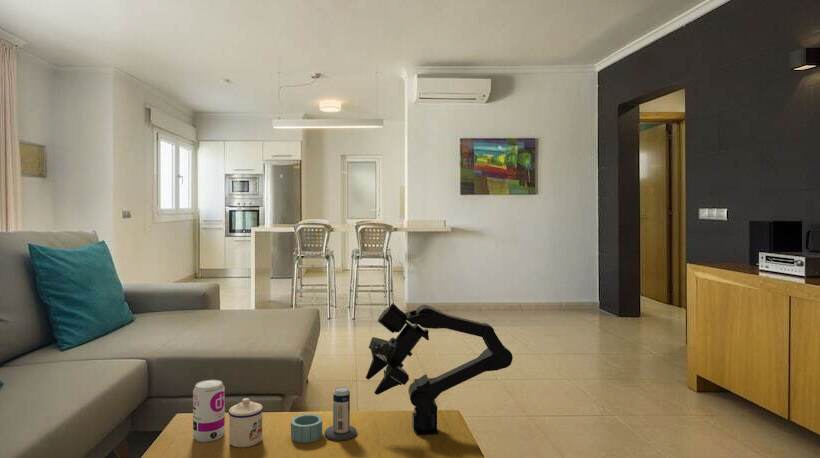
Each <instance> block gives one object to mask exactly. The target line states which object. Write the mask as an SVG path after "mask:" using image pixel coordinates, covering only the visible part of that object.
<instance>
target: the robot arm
mask: <svg viewBox="0 0 820 458" xmlns="http://www.w3.org/2000/svg"><path fill="white" fill-rule="evenodd" d="M377 323H379V324H380V325H381V326H383V327H384V328H385V329H386V330H388V331H389V332H390V333H392V334H393V333H394V334H395V333H396V334H397V333H399V334H398V335H397V336H396V337H392V338H389V340H386V339H383V338H379V337H375V336H372V337H371V339H370V343H369V345H368V349H370V352H371V357H372V360H371V363H370V366H369V368H368V370H367V373H366V376H365V378H366V380H370V379H372V378H373V377H374V376H376V375H377V374H378V373H380V371H382V370H383V378H382V379H381V381H380V382H379V384H378V385H377V386H376V389H375V391H374V395H377V396H378V395H380V394H382V393H384V392H386V391H388V390H390V389H392V388H394V387H397V386H399V385H400V386H402V385H403V386H405V385H406V384H407V383H408V382H409V380H410V375H409V374H408V372H407V371H406V370H405V369H404V368H403V367H404V363H403V362H404V361H405V360H406V358H407V357H410V358H411V356H412V355H413V352H412V351H413V349H414V348H415V346H417V344H418V343H419V341H420V340H421V339H422V338H424V339H425V340H426V341H430V336H429V329H435V330H436V329H437V330H438V329H448V330H450V331H454V332H459V333H462V334H468V335H472V336H476V337H480V338H482V340H483V343H484V344H485V346H486V348H485V349H484V350H483V351H482V352H481V353H480V354H479V355H478V356H477V357H475V358H473V359H471V360H469V361H467V362H464V363H463V364H461V365H459V366H457V367H455V368H453V369H450V370H448V371H447V372H444V373H442V374H440V375H438V376H436V377H430V378H429V377H428V375H427V374H424V375H422V376H420V377H419V378H415V379H413V382H412V383H410V384H409V387H408V395H409V399H410V403H411V405H413V407H414V408H413V412H412V414H411V415H412V416H411V421H412V422H411V423H412V424H411V428H412V429H413V430H414V433H415V434H416V435H418V436H419V435H429V434H430V435H431V434H432V435H434V434H439V433H440V432H439V429H438V408H439V407H438V405H437V402H436V399H437V398H438V396H440V395H441V394H443V392H446V391H447V390H449V389H452V388H454V387H455V386H458V385H460V384H462V383H464V382H467V381H469V380H471V379H473V378H475V377H477V376H479V375H481V374H483V373H486V372H495V371H500V370H503V369H506V368H509V367H510V366H511V365H512V362H513V360H514V359H513V353H512V352H511V351H510V350H509V349H508V348H507V347H506V346H505V345H503V343H502V341H501V340H500V339H499V337H498V335H497V334H496V332H495V329H494V328H493V326H491V325H490V324H489V323H487V322H480V321H476V320H471V319H468V318H463V317H459V316H456V315H451V314H447V313H445V312H443V311H441V310H439V309H437V308H435V307H432V306H430V305H427V304H422V305H419V306H418V307H417V308H416V309H414V310H410V311H407V312H404V311H403V310H401V309H400V308H399V307H398V306H397V305H396V304H395V303H391V304H390V305H389V306H388V307H386V309H384V310H383V311H382V313H381V314H380V315H379V317H378V318H377Z"/></svg>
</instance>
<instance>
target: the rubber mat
mask: <svg viewBox="0 0 820 458" xmlns="http://www.w3.org/2000/svg"><path fill="white" fill-rule="evenodd" d="M356 436H357V428H355V426H353V425H350V430H349V431H348V432H346V433H343V434H338V433H336V432H334V431H333V425H331V426H328V428H326V429H325V430H324V437H325V439H327V440H330V441H332V442H333V441H335V442H344V441H348V440H351V439H353V438H355V437H356Z"/></svg>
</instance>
